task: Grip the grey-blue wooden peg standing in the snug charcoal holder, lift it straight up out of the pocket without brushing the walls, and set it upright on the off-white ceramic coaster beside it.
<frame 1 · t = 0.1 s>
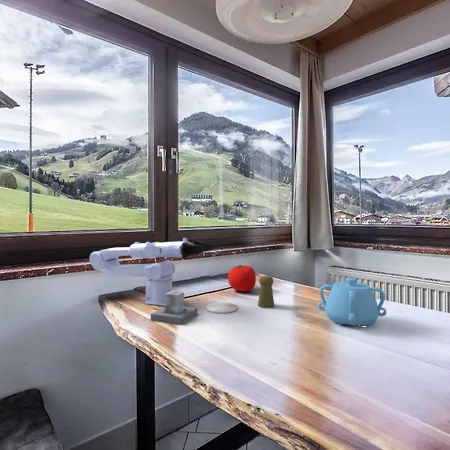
hand: (207, 248, 114), 22 cm above the table, tool horizontal, fingers open, 7 cm apart
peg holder: (174, 316, 105), on the table
grey-blue peg: (174, 317, 105), resting in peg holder
decorative pot: (350, 322, 100), on the table
ceramic coaster: (221, 308, 114), on the table
tomato: (242, 291, 140), on the table
cork: (266, 306, 117), on the table
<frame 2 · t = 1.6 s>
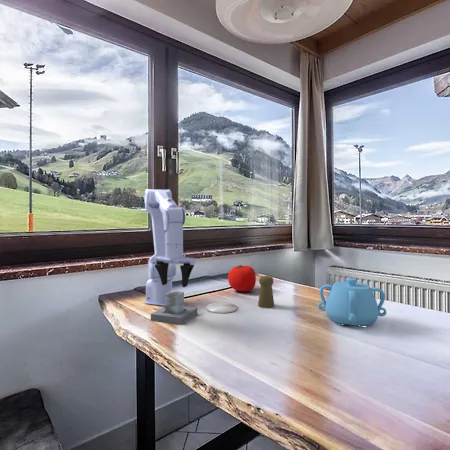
hand: (174, 285, 105), 10 cm above the table, tool pointing down, fingers open, 7 cm apart
nothing on the table moved.
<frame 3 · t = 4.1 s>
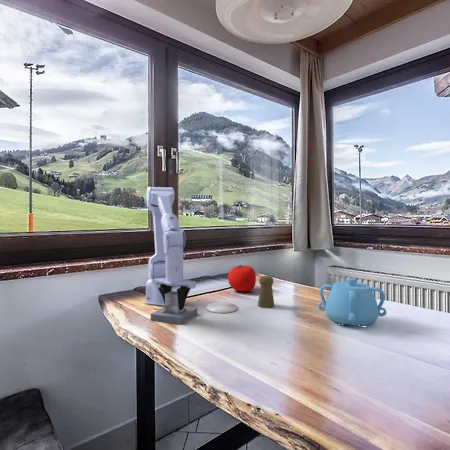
hand: (174, 308, 105), 3 cm above the table, tool pointing down, fingers closed on grey-blue peg, 4 cm apart
grey-blue peg: (174, 316, 105), resting in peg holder, touching gripper
everything else where it was.
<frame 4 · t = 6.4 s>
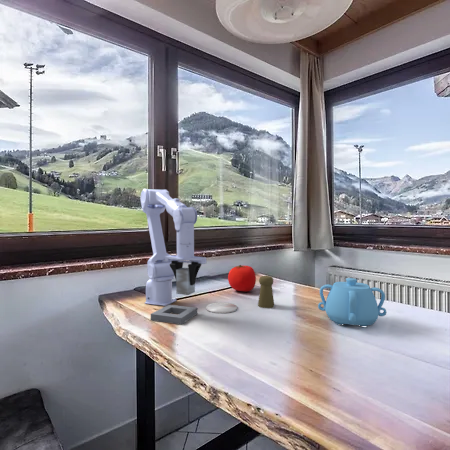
hand: (185, 284, 107), 10 cm above the table, tool pointing down, fingers closed on grey-blue peg, 4 cm apart
grey-blue peg: (185, 292, 107), point 7 cm above the table, touching gripper
everything else where it was.
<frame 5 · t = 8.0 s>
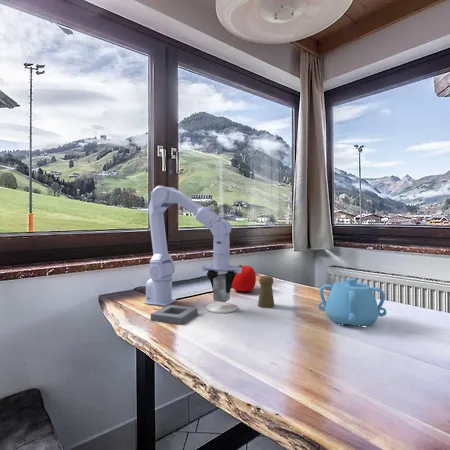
hand: (221, 291, 114), 6 cm above the table, tool pointing down, fingers closed on grey-blue peg, 4 cm apart
grey-blue peg: (221, 300, 114), point 3 cm above the table, touching gripper
everything else where it was.
when the fingers open (5 cm above the table, at t = 9.1 s): grey-blue peg drops 1 cm, resting on ceramic coaster.
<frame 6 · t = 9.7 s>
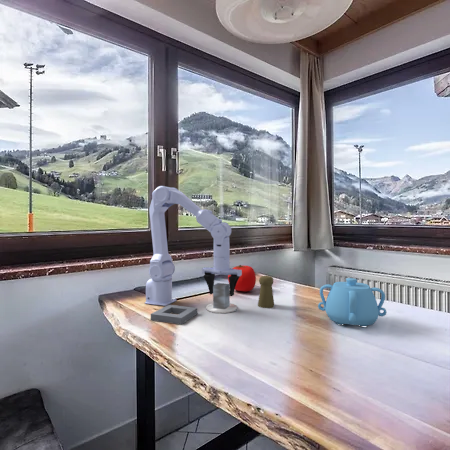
hand: (221, 294, 114), 5 cm above the table, tool pointing down, fingers open, 7 cm apart
grey-blue peg: (221, 306, 114), point 1 cm above the table, touching ceramic coaster
everything else where it was.
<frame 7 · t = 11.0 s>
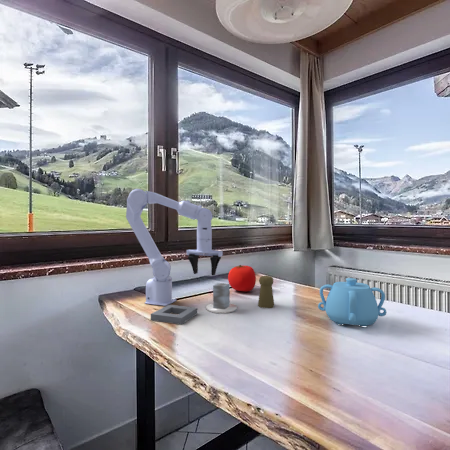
hand: (204, 274, 124), 10 cm above the table, tool pointing down, fingers open, 7 cm apart
nothing on the table moved.
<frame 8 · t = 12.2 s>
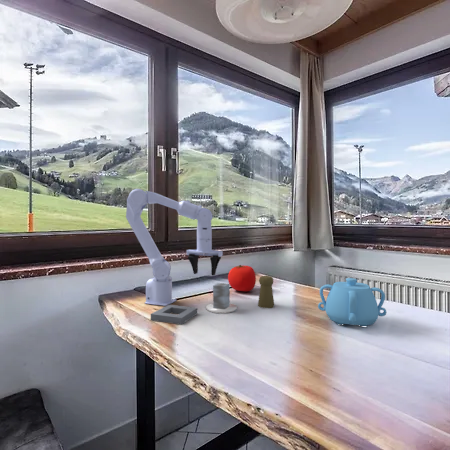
hand: (204, 274, 124), 10 cm above the table, tool pointing down, fingers open, 7 cm apart
nothing on the table moved.
at the end: grey-blue peg 0.1 cm off-centre on the ceramic coaster, point 0.6 cm above the ceramic coaster's base; grey-blue peg tilted 0°; the gripper is holding nothing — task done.
